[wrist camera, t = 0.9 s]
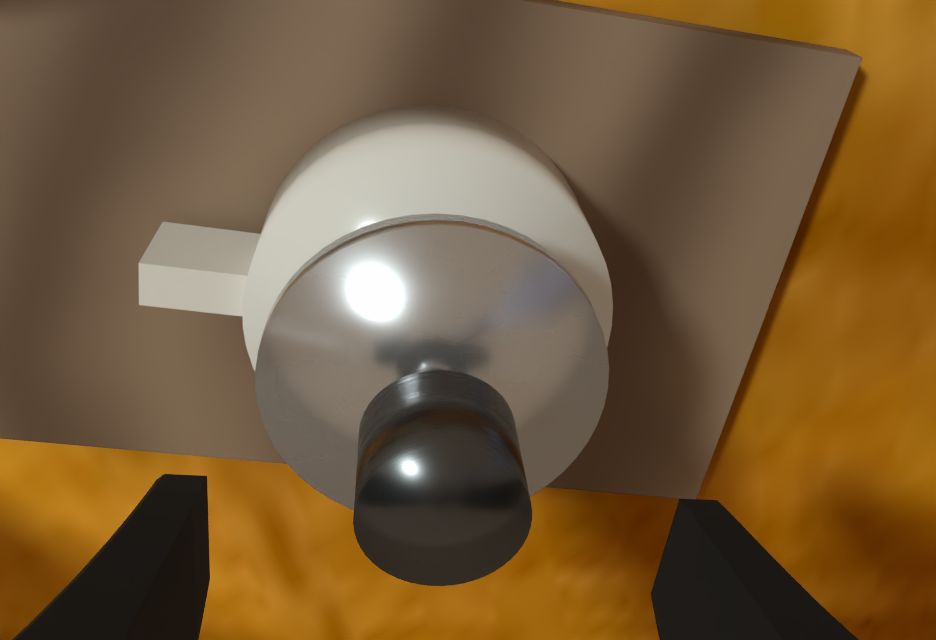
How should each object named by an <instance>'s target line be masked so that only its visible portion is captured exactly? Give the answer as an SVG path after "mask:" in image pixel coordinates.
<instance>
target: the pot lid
mask: <svg viewBox="0 0 936 640" xmlns="http://www.w3.org/2000/svg"><path fill="white" fill-rule="evenodd" d="M608 380H609V362H608V352H607V347H606V343H605V339H604V335H603V331H602V328H601V326H600V324H599V321H598V319H597V316H596V314H595V311H594V309H593V307H592V304H591V302H590V300H589V297H588V296H587V294H586V293H585V291H584V289H583V288H582V286H581V285H580V283H579V281H578V280H577V279H576V278H575V276H574V275H573V274H572V273H571V272H570V270H569V269H568V268H567V267H566V266H565V265H564V264H563V263H562V262H561V261H560V260H559V259H558V258H557V257H555V256H554V255H553V254H552V253H551V252H550V251H549V250H547V249H546V248H544V247H543V246H541V245H540V244H538V243H537V242H535V241H534V240H532V239H531V238H529V237H527V236H525V235H523V234H521V233H519V232H517V231H515V230H513V229H511V228H508V227H506V226H503V225H500V224H497V223H494V222H490V221H487V220H484V219H479V218H474V217H468V216H463V215H452V214H438V213H436V214H417V215H408V216H402V217H397V218H391V219H386V220H383V221H380V222H377V223H373V224H370V225H367V226H364V227H362V228H359V229H357V230H355V231H353V232H351V233H348V234H346V235H344V236H342V237H340V238H339V239H337V240H335V241H334V242H332V243H331V244H329V245H327V246H326V247H324V248H322V249H321V250H320V251H319V252H318V253H316V254H315V255H314V256H313V257H311V258H310V259H309V260H308V261H306V262H305V263H304V264H303V265H302V266H301V268H300V269H299V270H298V271H297V272H296V273H295V274H294V275H293V276H292V277H291V278H290V279H289V281H288V282H287V284H286V285H285V287H284V288H283V290H282V291H281V292H280V294H279V295H278V297H277V299H276V301H275V303H274V305H273V307H272V309H271V311H270V313H269V315H268V318H267V321H266V325H265V328H264V331H263V334H262V338H261V342H260V346H259V349H258V355H257V362H256V369H255V391H256V397H257V403H258V408H259V412H260V415H261V418H262V421H263V424H264V427H265V429H266V431H267V433H268V435H269V437H270V439H271V441H272V443H273V445H274V446H275V448H276V449H277V451H278V452H279V453H280V455H281V456H282V458H283V459H284V460H285V462H286V463H287V464H288V465H289V466H290V467H291V468H292V469H293V470H294V471H295V472H296V474H297V475H298V476H299V477H301V478H302V479H303V480H304V481H306V482H307V483H308V484H309V485H310V486H312V487H313V488H314V489H316V490H317V491H319V492H320V493H322V494H323V495H325V496H327V497H328V498H330V499H331V500H333V501H335V502H337V503H339V504H342V505H344V506H346V507H348V508H350V509H353V510H354V519H353V524H354V532H355V535H356V539H357V541H358V543H359V545H360V547H361V549H362V550H363V552H364V553H365V555H366V556H367V557H368V558H369V559H370V560H371V561H372V562H373V563H374V564H375V565H376V566H378V567H379V568H380V569H381V570H383V571H385V572H386V573H388V574H390V575H392V576H394V577H396V578H398V579H401V580H404V581H407V582H411V583H416V584H421V585H429V586H446V585H455V584H461V583H466V582H470V581H473V580H476V579H479V578H481V577H484V576H486V575H488V574H490V573H492V572H494V571H496V570H497V569H499V568H500V567H502V566H503V565H504V564H506V563H507V562H508V561H509V560H510V559H511V558H512V557H513V556H514V555H515V554H516V553H517V552H518V551H519V549H520V548H521V547H522V545H523V544H524V542H525V540H526V538H527V536H528V533H529V530H530V527H531V521H532V508H531V501H530V496H532V495H533V494H535V493H536V492H538V491H539V490H541V489H542V488H544V487H545V486H547V485H548V484H549V483H551V482H552V481H553V480H554V479H555V478H557V477H558V476H559V475H560V474H561V473H563V472H564V471H565V469H566V468H567V467H568V466H569V465H570V464H571V463H572V462H573V461H574V460H575V459H576V458H577V456H578V455H579V454H580V452H581V451H582V450H583V448H584V447H585V445H586V444H587V443H588V441H589V439H590V437H591V436H592V434H593V432H594V430H595V428H596V426H597V424H598V422H599V419H600V416H601V414H602V411H603V408H604V405H605V400H606V395H607V391H608Z"/></svg>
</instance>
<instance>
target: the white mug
mask: <svg viewBox="0 0 936 640" xmlns="http://www.w3.org/2000/svg"><path fill="white" fill-rule="evenodd" d="M436 213H438V214H452V215H463V216H468V217H474V218H479V219H484V220H487V221H490V222H494V223H497V224H500V225H503V226H506V227H508V228H511V229H513V230H515V231H517V232H519V233H521V234H523V235H525V236H527V237H529V238H531V239H532V240H534V241H535V242H537V243H538V244H540V245H541V246H543V247H544V248H546V249H547V250H549V251H550V252H551V253H552V254H553V255H554V256H555V257H557V258H558V259H559V260H560V261H561V262H562V263H563V264H564V265H565V266H566V267H567V268H568V269H569V270H570V272H571V273H572V274H573V275H574V276H575V278H576V279H577V280H578V281H579V283H580V285H581V286H582V288H583V289H584V291H585V293H586V294H587V296H588V297H589V300H590V302H591V304H592V307H593V309H594V311H595V314H596V316H597V319H598V321H599V324H600V326H601V328H602V331H603V335H604V339H605V343H606V347H608V342H609V337H610V332H611V328H612V314H613V300H612V288H611V282H610V278H609V273H608V269H607V265H606V262H605V260H604V257H603V255H602V252H601V250H600V248H599V245H598V243H597V241H596V239H595V236H594V234H593V232H592V230H591V228H590V226H589V224H588V222H587V220H586V218H585V215H584V213H583V211H582V209H581V207H580V205H579V203H578V201H577V199H576V197H575V194H574V192H573V190H572V189H571V187H570V185H569V184H568V182H567V180H566V179H565V177H564V175H563V174H562V172H561V171H560V170H559V169H558V167H557V166H556V165H555V164H554V162H553V161H552V160H551V159H550V157H548V156H547V155H546V154H545V153H544V152H543V151H542V150H541V149H540V148H539V147H538V146H537V145H536V144H535V143H533V142H532V141H531V140H529V139H528V138H526V137H525V136H523V135H522V134H521V133H519V132H518V131H516V130H515V129H513V128H511V127H509V126H507V125H505V124H503V123H501V122H499V121H497V120H495V119H492V118H489V117H486V116H484V115H481V114H478V113H475V112H471V111H466V110H462V109H457V108H453V107H441V106H429V105H428V106H407V107H400V108H395V109H389V110H383V111H380V112H377V113H374V114H371V115H367V116H364V117H361V118H359V119H357V120H355V121H352V122H350V123H348V124H346V125H344V126H342V127H340V128H338V129H337V130H335V131H333V132H332V133H330V134H329V135H327V136H326V137H324V138H323V139H321V140H320V141H319V142H318V143H316V144H315V145H314V146H313V147H312V148H311V149H309V150H308V151H307V152H306V153H305V154H304V155H303V156H302V157H301V158H300V159H299V160H298V162H297V163H296V164H295V165H294V166H293V167H292V168H291V170H290V171H289V172H288V174H287V175H286V177H285V179H284V180H283V182H282V183H281V185H280V186H279V188H278V190H277V192H276V194H275V196H274V198H273V201H272V203H271V205H270V207H269V210H268V213H267V216H266V219H265V222H264V225H263V228H262V231H261V234H258V233H250V232H242V231H234V230H226V229H218V228H210V227H202V226H194V225H186V224H178V223H170V222H162V224H161V225H160V227H159V229H158V231H157V232H156V234H155V236H154V237H153V239H152V241H151V243H150V244H149V246H148V248H147V249H146V251H145V253H144V255H143V256H142V258H141V260H140V261H139V305H143V306H152V307H161V308H170V309H179V310H188V311H197V312H206V313H215V314H224V315H233V316H242V317H243V331H244V337H245V343H246V348H247V351H248V354H249V357H250V360H251V363H252V366H253V369H254V371H255V369H256V362H257V355H258V349H259V346H260V342H261V338H262V334H263V331H264V328H265V325H266V321H267V318H268V315H269V313H270V311H271V309H272V307H273V305H274V303H275V301H276V299H277V297H278V295H279V294H280V292H281V291H282V290H283V288H284V287H285V285H286V284H287V282H288V281H289V279H290V278H291V277H292V276H293V275H294V274H295V273H296V272H297V271H298V270H299V269H300V268H301V266H302V265H303V264H304V263H305V262H306V261H308V260H309V259H310V258H311V257H313V256H314V255H315V254H316V253H318V252H319V251H320V250H321V249H322V248H324V247H326V246H327V245H329V244H331V243H332V242H334V241H335V240H337V239H339V238H340V237H342V236H344V235H346V234H348V233H351V232H353V231H355V230H357V229H359V228H362V227H364V226H367V225H370V224H373V223H377V222H380V221H383V220H386V219H391V218H397V217H402V216H408V215H417V214H436Z"/></svg>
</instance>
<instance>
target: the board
mask: <svg viewBox="0 0 936 640" xmlns="http://www.w3.org/2000/svg"><path fill="white" fill-rule="evenodd" d="M861 60H862V57H860V56H858V55H856V54H854V53H852V52H850V51H848V50H844V49H838V48H833V47H827V46H821V45H815V44H809V43H803V42H797V41H791V40H785V39H779V38H774V37H768V36H762V35H756V34H750V33H744V32H738V31H732V30H726V29H720V28H715V27H709V26H703V25H697V24H691V23H685V22H679V21H673V20H667V19H661V18H656V17H650V16H644V15H638V14H632V13H626V12H620V11H614V10H608V9H602V8H597V7H591V6H585V5H579V4H573V3H567V2H561V1H555V0H0V438H2V439H13V440H24V441H36V442H47V443H58V444H69V445H81V446H92V447H103V448H114V449H126V450H137V451H148V452H159V453H171V454H182V455H193V456H204V457H216V458H227V459H238V460H249V461H261V462H272V463H283V464H287V463H286V462H285V460H284V459H283V458H282V456H281V455H280V453H279V452H278V451H277V449H276V448H275V446H274V445H273V443H272V441H271V439H270V437H269V435H268V433H267V431H266V429H265V427H264V424H263V421H262V418H261V415H260V412H259V408H258V403H257V397H256V391H255V371H254V369H253V366H252V363H251V360H250V357H249V354H248V351H247V348H246V343H245V337H244V331H243V317H242V316H233V315H224V314H215V313H206V312H197V311H188V310H179V309H170V308H161V307H152V306H143V305H139V261H140V260H141V258H142V256H143V255H144V253H145V251H146V249H147V248H148V246H149V244H150V243H151V241H152V239H153V237H154V236H155V234H156V232H157V231H158V229H159V227H160V225H161V224H162V222H170V223H178V224H186V225H194V226H202V227H210V228H218V229H226V230H234V231H242V232H250V233H258V234H261V231H262V228H263V225H264V222H265V219H266V216H267V213H268V210H269V207H270V205H271V203H272V201H273V198H274V196H275V194H276V192H277V190H278V188H279V186H280V185H281V183H282V182H283V180H284V179H285V177H286V175H287V174H288V172H289V171H290V170H291V168H292V167H293V166H294V165H295V164H296V163H297V162H298V160H299V159H300V158H301V157H302V156H303V155H304V154H305V153H306V152H307V151H308V150H309V149H311V148H312V147H313V146H314V145H315V144H316V143H318V142H319V141H320V140H321V139H323V138H324V137H326V136H327V135H329V134H330V133H332V132H333V131H335V130H337V129H338V128H340V127H342V126H344V125H346V124H348V123H350V122H352V121H355V120H357V119H359V118H361V117H364V116H367V115H371V114H374V113H377V112H380V111H383V110H389V109H395V108H400V107H407V106H428V105H429V106H441V107H453V108H457V109H462V110H466V111H471V112H475V113H478V114H481V115H484V116H486V117H489V118H492V119H495V120H497V121H499V122H501V123H503V124H505V125H507V126H509V127H511V128H513V129H515V130H516V131H518V132H519V133H521V134H522V135H523V136H525V137H526V138H528V139H529V140H531V141H532V142H533V143H535V144H536V145H537V146H538V147H539V148H540V149H541V150H542V151H543V152H544V153H545V154H546V155H547V156H548V157H550V159H551V160H552V161H553V162H554V164H555V165H556V166H557V167H558V169H559V170H560V171H561V172H562V174H563V175H564V177H565V179H566V180H567V182H568V184H569V185H570V187H571V189H572V190H573V192H574V194H575V197H576V199H577V201H578V203H579V205H580V207H581V209H582V211H583V213H584V215H585V218H586V220H587V222H588V224H589V226H590V228H591V230H592V232H593V234H594V236H595V239H596V241H597V243H598V245H599V248H600V250H601V252H602V255H603V257H604V260H605V262H606V265H607V269H608V273H609V278H610V282H611V288H612V300H613V314H612V328H611V332H610V337H609V342H608V347H607V352H608V362H609V380H608V391H607V395H606V400H605V405H604V408H603V411H602V414H601V416H600V419H599V422H598V424H597V426H596V428H595V430H594V432H593V434H592V436H591V437H590V439H589V441H588V443H587V444H586V445H585V447H584V448H583V450H582V451H581V452H580V454H579V455H578V456H577V458H576V459H575V460H574V461H573V462H572V463H571V464H570V465H569V466H568V467H567V468H566V469H565V471H564V472H563V473H561V474H560V475H559V476H558V477H557V478H555V479H554V480H553V481H552V482H551V483H549V484H548V485H547V486H545V487H553V488H565V489H576V490H587V491H598V492H610V493H621V494H632V495H643V496H655V497H666V498H677V499H697V496H698V493H699V491H700V488H701V485H702V483H703V480H704V477H705V475H706V472H707V469H708V467H709V464H710V461H711V459H712V456H713V454H714V451H715V448H716V446H717V443H718V440H719V438H720V435H721V432H722V430H723V427H724V424H725V422H726V419H727V416H728V414H729V411H730V408H731V406H732V403H733V400H734V398H735V395H736V392H737V390H738V387H739V384H740V382H741V379H742V376H743V374H744V371H745V368H746V366H747V363H748V360H749V358H750V355H751V352H752V350H753V347H754V344H755V342H756V339H757V336H758V334H759V331H760V328H761V326H762V323H763V320H764V318H765V315H766V312H767V310H768V307H769V304H770V302H771V299H772V297H773V294H774V291H775V289H776V286H777V283H778V281H779V278H780V275H781V273H782V270H783V267H784V265H785V262H786V259H787V257H788V254H789V251H790V249H791V246H792V243H793V241H794V238H795V235H796V233H797V230H798V227H799V225H800V222H801V219H802V217H803V214H804V211H805V209H806V206H807V203H808V201H809V198H810V195H811V193H812V190H813V187H814V185H815V182H816V179H817V177H818V174H819V171H820V169H821V166H822V163H823V161H824V158H825V155H826V153H827V150H828V147H829V145H830V142H831V140H832V137H833V134H834V132H835V129H836V126H837V124H838V121H839V118H840V116H841V113H842V110H843V108H844V105H845V102H846V100H847V97H848V94H849V92H850V89H851V86H852V84H853V81H854V78H855V76H856V73H857V70H858V68H859V65H860V62H861Z"/></svg>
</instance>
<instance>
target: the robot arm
mask: <svg viewBox="0 0 936 640" xmlns="http://www.w3.org/2000/svg"><path fill="white" fill-rule="evenodd" d="M209 580H210V569H209V533H208V497H207V476H194V475H173V474H164V475H162V476H161V477H160V478H159V479H157V480H156V481H155V483H154V484H153V485H152V487H151V488H150V490H149V491H148V492H147V493H146V495H145V496H144V497H143V499H142V500H141V501H140V503H139V504H138V505H137V506H136V508H135V509H134V510H133V511H132V513H131V514H130V515H129V516H128V518H127V519H126V520H125V521H124V522H123V524H122V525H121V526H120V527H119V528H118V530H117V531H116V532H115V533H114V534H113V536H112V537H111V538H110V539H109V540H108V541H107V543H106V544H105V545H104V546H103V547H102V548H101V549H100V550H99V552H98V553H97V554H96V555H95V556H94V557H93V558H92V559H91V561H90V562H89V563H88V564H87V565H86V566H85V567H84V568H83V570H82V571H81V572H80V573H79V574H78V575H77V576H76V577H75V578H74V579H73V580H72V581H71V582H70V584H69V585H68V586H67V587H66V588H65V589H64V590H63V591H62V592H61V593H60V594H59V595H58V596H57V597H56V598H55V599H54V600H53V601H52V602H51V603H50V604H49V605H48V606H47V607H46V608H45V609H44V610H43V611H42V612H41V613H40V614H39V615H38V616H37V617H36V618H35V619H34V620H33V621H32V622H31V623H30V624H29V625H28V626H26V627H25V628H24V629H23V630H22V631H21V632H20V633H19V634H18V635H17V636H16V637H15V638H14V639H12V640H198V639H199V634H200V628H201V623H202V618H203V613H204V607H205V602H206V597H207V591H208V586H209ZM651 597H652V602H653V608H654V613H655V618H656V624H657V629H658V633H659V638H660V640H858V639H857V638H856V637H855V636H854V635H853V634H852V633H850V632H849V631H848V630H847V629H846V628H845V627H844V626H843V625H842V624H840V623H839V622H838V621H837V620H836V619H835V618H834V617H833V616H832V615H831V614H830V613H829V612H827V611H826V610H825V609H824V608H823V607H822V606H821V605H820V604H819V603H818V602H817V601H816V600H815V599H814V598H813V597H812V596H811V595H810V594H809V593H808V592H807V591H806V590H805V589H804V588H803V587H802V586H801V585H800V584H799V583H798V582H797V581H796V580H795V579H794V578H793V577H792V576H791V575H790V574H789V573H788V572H787V571H786V570H785V569H784V568H783V567H782V566H781V565H780V564H779V563H778V562H777V561H776V560H775V559H774V558H773V557H772V556H771V555H770V554H769V553H768V552H767V551H766V550H765V549H764V548H763V547H762V546H761V545H760V544H759V543H758V542H757V540H756V539H755V538H754V537H753V536H752V535H751V534H750V533H749V532H748V531H747V530H746V529H745V528H744V527H743V526H742V525H741V524H740V523H739V522H738V521H737V520H736V519H735V518H734V517H733V516H732V515H731V514H730V513H729V512H728V511H727V510H726V509H725V508H724V507H723V506H722V505H721V504H720V503H719V502H718V501H717V500H698V499H679V502H678V505H677V509H676V512H675V515H674V519H673V522H672V525H671V529H670V532H669V535H668V539H667V542H666V545H665V549H664V552H663V555H662V559H661V562H660V565H659V569H658V572H657V575H656V579H655V582H654V585H653V589H652V592H651Z"/></svg>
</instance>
